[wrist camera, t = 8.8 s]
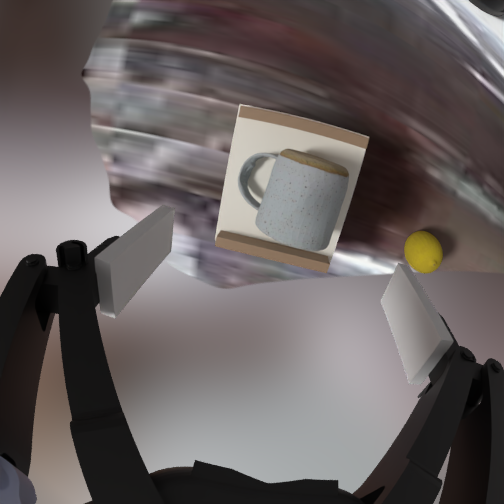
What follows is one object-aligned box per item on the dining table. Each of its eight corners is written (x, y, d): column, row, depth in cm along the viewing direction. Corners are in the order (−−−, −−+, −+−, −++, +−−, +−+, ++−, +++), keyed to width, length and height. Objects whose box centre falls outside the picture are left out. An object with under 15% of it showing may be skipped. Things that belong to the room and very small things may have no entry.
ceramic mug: (346, 163, 28) (362, 176, 21) (323, 231, 32) (330, 262, 25) (250, 135, 29) (235, 139, 22) (233, 205, 32) (215, 230, 25)
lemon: (405, 262, 40) (423, 290, 33) (392, 235, 39) (410, 260, 32) (433, 244, 38) (455, 268, 31) (421, 216, 37) (444, 237, 30)
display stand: (353, 133, 34) (374, 137, 25) (322, 241, 41) (330, 275, 32) (250, 107, 34) (236, 102, 25) (228, 218, 41) (210, 246, 32)
